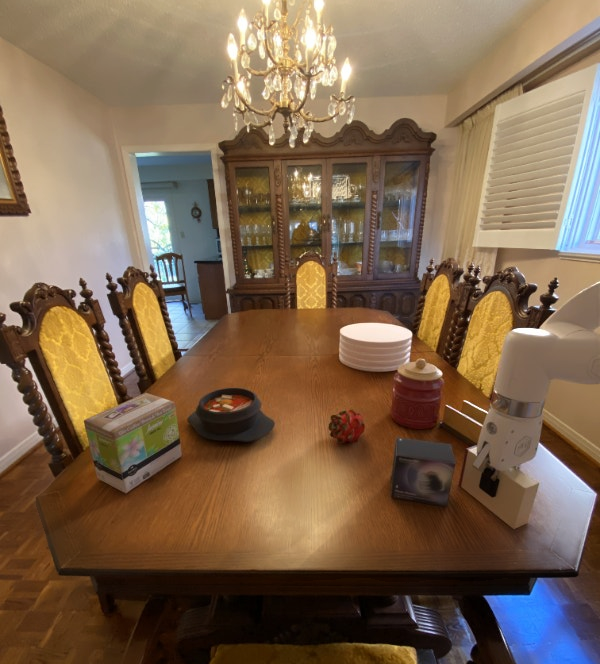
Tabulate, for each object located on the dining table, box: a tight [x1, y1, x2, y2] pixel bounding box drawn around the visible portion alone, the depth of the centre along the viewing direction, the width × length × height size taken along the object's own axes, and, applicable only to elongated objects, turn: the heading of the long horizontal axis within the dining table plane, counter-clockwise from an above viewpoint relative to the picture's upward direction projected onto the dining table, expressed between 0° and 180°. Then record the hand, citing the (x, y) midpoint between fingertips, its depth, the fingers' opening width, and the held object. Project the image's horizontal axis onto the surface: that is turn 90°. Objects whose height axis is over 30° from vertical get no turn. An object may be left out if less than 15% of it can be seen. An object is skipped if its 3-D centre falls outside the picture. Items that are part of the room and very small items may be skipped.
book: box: [458, 445, 540, 530], centre depth 65 cm, size 4×12×9 cm, turn 23°
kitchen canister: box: [390, 358, 446, 430], centre depth 93 cm, size 13×13×18 cm
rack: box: [438, 400, 488, 447], centre depth 87 cm, size 9×14×6 cm, turn 23°
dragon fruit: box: [327, 409, 366, 444], centre depth 87 cm, size 8×8×12 cm
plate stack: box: [338, 322, 413, 373], centre depth 139 cm, size 28×28×12 cm
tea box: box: [83, 392, 183, 494], centre depth 75 cm, size 15×10×15 cm, turn 151°
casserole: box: [186, 387, 276, 443], centre depth 92 cm, size 25×19×8 cm
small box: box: [390, 437, 457, 508], centre depth 67 cm, size 11×6×10 cm, turn 76°
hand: (495, 488), depth 65 cm, fingers closed on book, 3 cm apart
